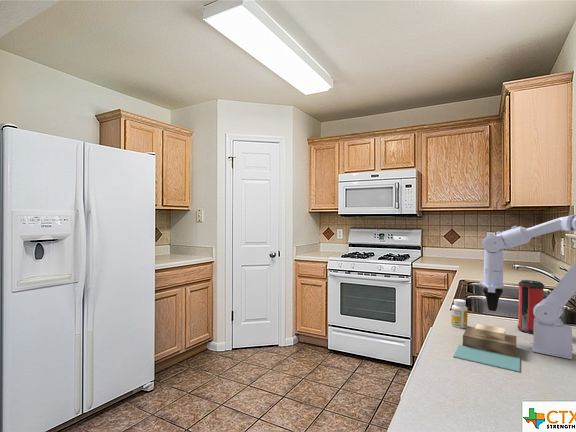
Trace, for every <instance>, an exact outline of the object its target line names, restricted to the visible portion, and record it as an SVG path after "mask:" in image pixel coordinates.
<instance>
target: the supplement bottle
mask: <svg viewBox="0 0 576 432" xmlns="http://www.w3.org/2000/svg"><path fill="white" fill-rule="evenodd" d="M466 302H467V301H466V300H464V299H460V298H455V299H453V304H452V306H451V314H450V315H451V320H450V321H451V322H450V323H451V326H453V327H454V328H456V329H457V328H458V329H465V328H467V327H468V307H467V306H466Z"/></svg>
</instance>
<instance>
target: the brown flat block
mask: <svg viewBox="0 0 576 432" xmlns="http://www.w3.org/2000/svg"><path fill="white" fill-rule="evenodd" d="M517 339H518V338H517V335H511V334H508V333H505V340H500V339H495V338H489V337H484V336H479V335H475V327H474V328H473V327H468V326H467V327H466V329H465V331H464V332H463V334H462V346H467V347H471V348H476V349H481V350H486V351H491V352H495V353H500V354H505V355H510V356H514V357H517Z"/></svg>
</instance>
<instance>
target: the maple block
mask: <svg viewBox="0 0 576 432" xmlns="http://www.w3.org/2000/svg"><path fill="white" fill-rule="evenodd" d="M474 328H475V335H479V336H484V337H489V338H495V339H500V340H505V334H506V328H505V327H498V326H492V325H485V324H481V323H476V324H475V327H474Z"/></svg>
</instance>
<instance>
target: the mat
mask: <svg viewBox="0 0 576 432" xmlns="http://www.w3.org/2000/svg"><path fill="white" fill-rule="evenodd" d="M453 358H455V359H459V360H460V359H461V360H463V361H464V360H465V361H469V362H474V363H477V364H482V365H485V366H486V365H487V366H491V367H495V368H500V369H504V370H508V371H512V372H517V373H520V372H521V370H520V368H521V358H520V357H519V356H516V357H514V356H510V355H505V354H500V353H495V352H491V351H486V350H481V349H476V348H471V347H467V346H463V344H462V345H461V344H459V345H458V346H457V348H456V349H455V353H454V354H453Z"/></svg>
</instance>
